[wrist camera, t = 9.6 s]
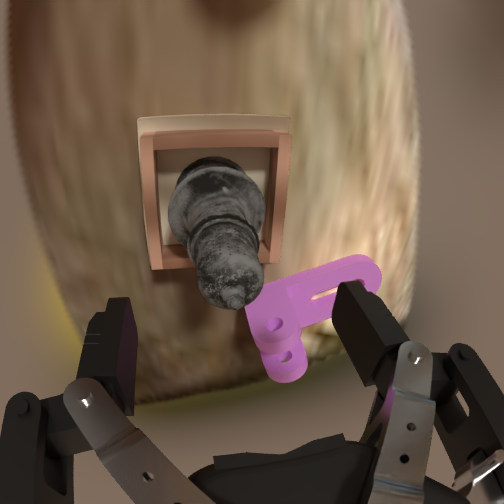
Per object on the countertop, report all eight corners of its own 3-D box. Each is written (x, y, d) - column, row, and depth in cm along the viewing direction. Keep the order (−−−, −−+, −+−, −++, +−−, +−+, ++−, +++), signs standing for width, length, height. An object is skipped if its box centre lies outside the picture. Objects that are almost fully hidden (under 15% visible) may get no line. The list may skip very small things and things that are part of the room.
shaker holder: (139, 117, 19) (132, 123, 17) (285, 115, 21) (299, 121, 19) (151, 258, 25) (148, 280, 22) (274, 251, 27) (283, 272, 24)
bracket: (255, 332, 31) (271, 388, 26) (240, 290, 28) (255, 349, 23) (375, 290, 32) (408, 335, 26) (374, 246, 29) (414, 290, 23)
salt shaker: (218, 244, 24) (243, 374, 14) (153, 201, 22) (129, 322, 12) (271, 186, 23) (340, 292, 13) (207, 134, 20) (228, 206, 10)
